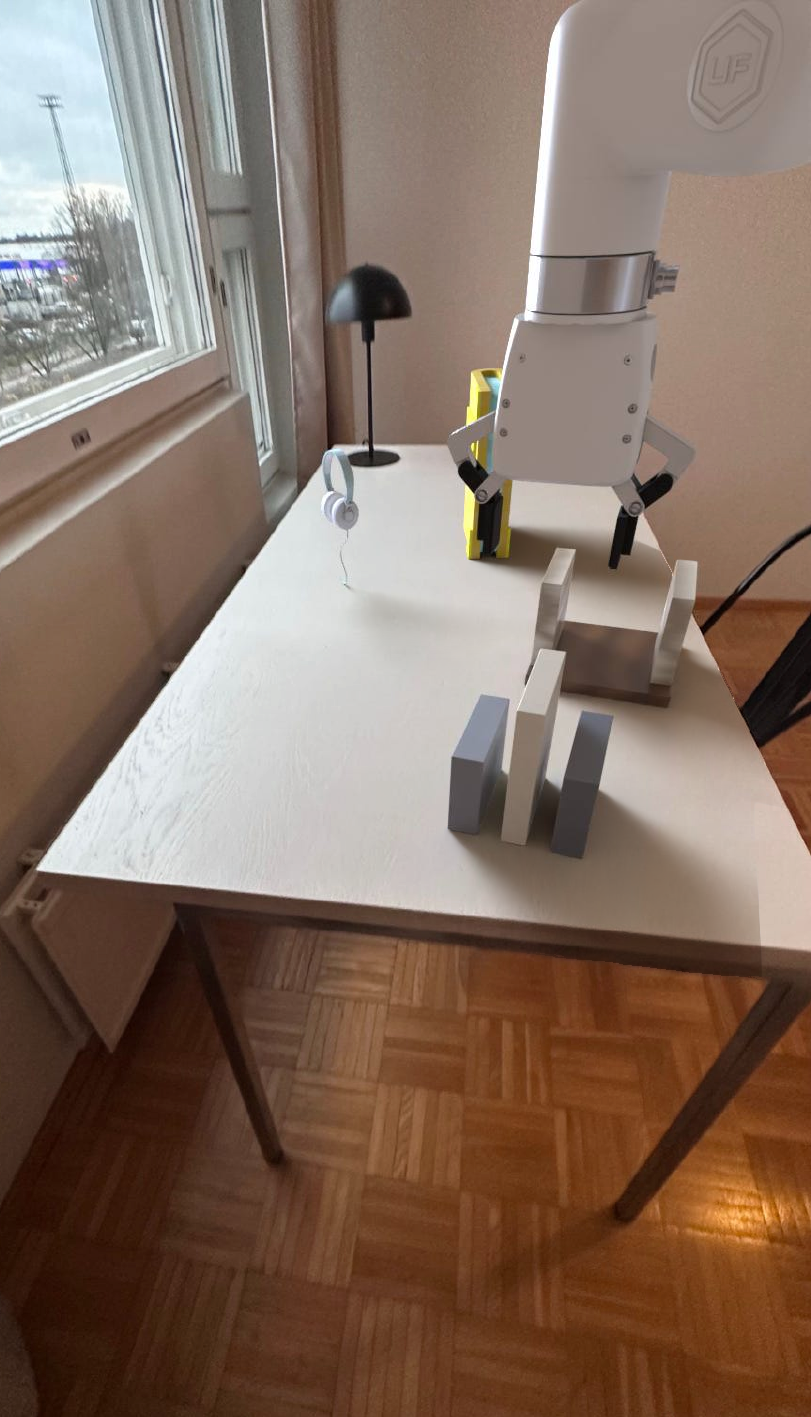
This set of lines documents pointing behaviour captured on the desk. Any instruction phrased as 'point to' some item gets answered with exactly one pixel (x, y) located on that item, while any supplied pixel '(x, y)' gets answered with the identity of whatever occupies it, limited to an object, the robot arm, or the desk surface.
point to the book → (485, 461)
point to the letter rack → (614, 640)
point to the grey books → (482, 765)
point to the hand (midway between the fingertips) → (550, 556)
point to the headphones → (339, 495)
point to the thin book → (532, 745)
